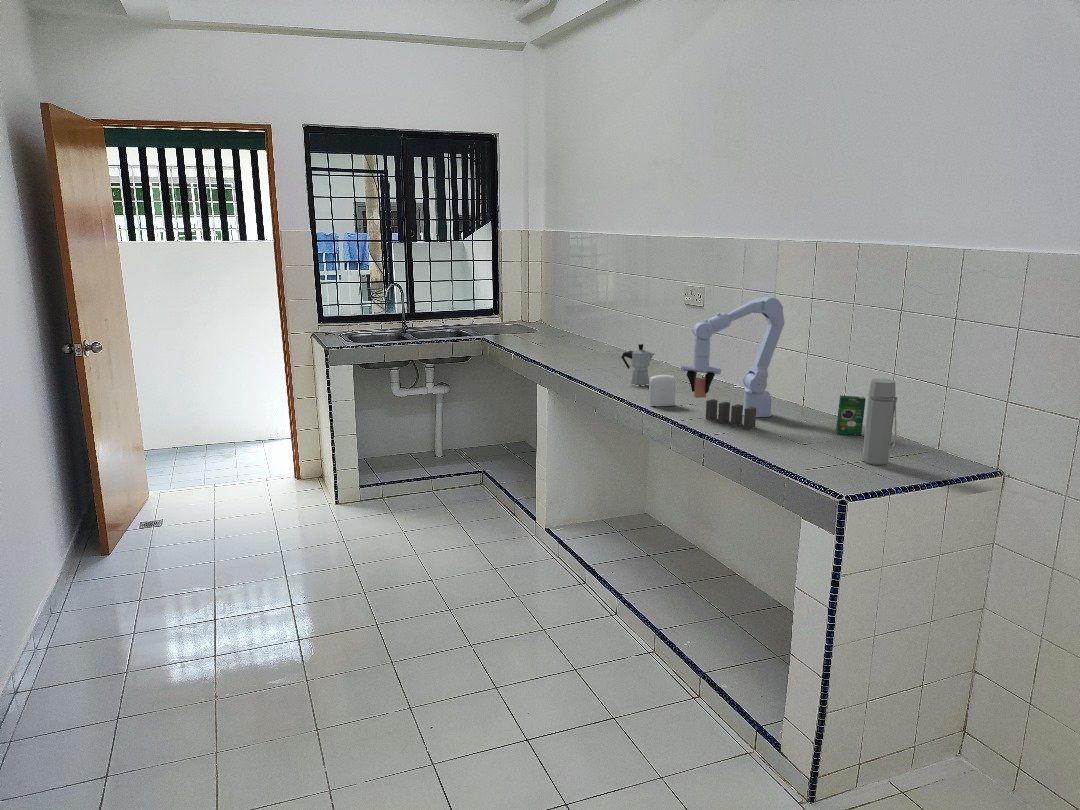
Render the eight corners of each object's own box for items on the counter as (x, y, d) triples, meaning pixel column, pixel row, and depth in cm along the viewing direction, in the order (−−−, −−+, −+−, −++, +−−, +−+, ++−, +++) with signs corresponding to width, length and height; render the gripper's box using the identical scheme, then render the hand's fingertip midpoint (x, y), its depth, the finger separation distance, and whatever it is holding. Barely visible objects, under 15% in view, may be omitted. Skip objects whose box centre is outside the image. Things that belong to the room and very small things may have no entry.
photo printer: (650, 407, 300) (651, 376, 297) (647, 404, 304) (648, 374, 301) (676, 406, 301) (677, 375, 298) (673, 404, 305) (674, 373, 302)
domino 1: (716, 418, 282) (717, 400, 281) (710, 420, 280) (710, 401, 278) (712, 417, 284) (713, 399, 282) (705, 419, 281) (706, 400, 280)
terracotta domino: (706, 397, 283) (706, 378, 282) (695, 397, 283) (696, 379, 281) (704, 396, 285) (705, 377, 284) (693, 396, 285) (694, 378, 283)
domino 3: (742, 424, 274) (743, 405, 272) (735, 426, 272) (736, 407, 270) (737, 423, 276) (738, 404, 274) (730, 425, 273) (731, 406, 271)
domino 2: (729, 421, 278) (730, 402, 277) (722, 423, 276) (723, 404, 274) (724, 420, 280) (725, 401, 278) (717, 422, 277) (718, 403, 276)
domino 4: (755, 427, 270) (756, 407, 268) (748, 429, 268) (749, 409, 266) (750, 426, 272) (751, 406, 270) (743, 428, 269) (744, 408, 267)
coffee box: (861, 433, 261) (864, 395, 258) (862, 435, 258) (865, 397, 255) (835, 432, 262) (838, 394, 259) (837, 434, 260) (840, 396, 257)
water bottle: (868, 466, 226) (876, 383, 220) (857, 458, 234) (864, 378, 228) (899, 466, 226) (908, 383, 220) (887, 458, 234) (895, 377, 228)
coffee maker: (654, 382, 346) (655, 342, 342) (655, 386, 337) (656, 345, 333) (620, 382, 347) (621, 342, 343) (620, 386, 339) (621, 345, 335)
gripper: (724, 355, 281) (722, 391, 284) (685, 352, 287) (684, 387, 290) (718, 358, 275) (717, 395, 278) (679, 355, 281) (678, 391, 284)
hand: (700, 391), depth 284 cm, fingers closed on terracotta domino, 4 cm apart
